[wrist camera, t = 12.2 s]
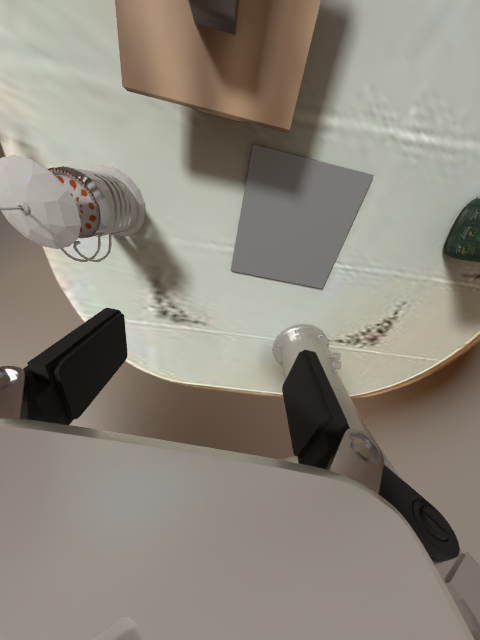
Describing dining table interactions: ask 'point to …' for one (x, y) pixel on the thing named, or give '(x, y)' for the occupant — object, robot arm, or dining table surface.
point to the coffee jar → (466, 234)
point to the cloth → (218, 54)
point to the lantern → (68, 203)
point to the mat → (295, 216)
